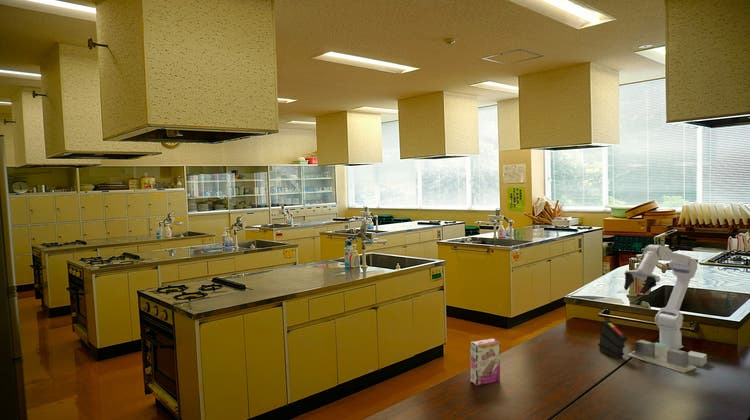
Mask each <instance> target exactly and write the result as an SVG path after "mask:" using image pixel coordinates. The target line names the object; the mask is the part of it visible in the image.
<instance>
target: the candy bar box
mask: <svg viewBox="0 0 750 420" xmlns="http://www.w3.org/2000/svg"><path fill="white" fill-rule="evenodd" d="M469 346H470V354H469V355H470V357H469V359H470V382H471V383H472V384H473V385H475V387H477V386H483V385H487V384H493V383H497V382H500V381H501V342H500V341H499V340H497V339H495V338H488V339H481V340H476V341H470V345H469Z"/></svg>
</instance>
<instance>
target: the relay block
mask: <svg viewBox="0 0 750 420" xmlns="http://www.w3.org/2000/svg"><path fill="white" fill-rule="evenodd" d="M688 352H689V353H688V364H690V365H693V366H696V367H701V368H702V367H704V366H705V365H706V364H707V363H708V362H707V361H708V360H707V359H708V356H707V355H708V354H706V353H702V352H697V351H692V350H690V351H688Z"/></svg>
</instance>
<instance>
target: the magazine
mask: <svg viewBox="0 0 750 420" xmlns="http://www.w3.org/2000/svg"><path fill="white" fill-rule="evenodd" d="M602 325H603V326H602V328H601V331H600V332H599V335H600V337H599V343H597V344H598V345H597V346H598V347H599V352H601V353H602V354H605V355H606V356H607V355H608V356H610V357H613V358H614V359H618V360H619V359H623V356H624V355H625V353H624V351H623V350H624V348H625V347H626V346H625V343H626V341H628V340H629V339H628V336H627V334H626V333H624V332H623V331H622V330H621V329H620V328H619V327H618V326H617V324H615V323H614V322H612V320H605V321H604V322H603V323H602Z"/></svg>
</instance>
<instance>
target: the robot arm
mask: <svg viewBox="0 0 750 420" xmlns="http://www.w3.org/2000/svg"><path fill="white" fill-rule="evenodd" d="M659 260H661V261H669V266H670V269H671V271H672V274H673V275H674V276H675V277H676V280H675V284H674V286H673V288H672V292H671V293H670V296H669V299H668V302H667V304H666V306H665V307H661V308H660V309H659V311H658V312H657V313H656V314H655V317H654V322H655V324H656V326H657V328H659V343H661V344H665V345H667V346H668V350H670V349H673V348H674V349H678V350H681V349H682V348H684V345H682V336H683V335H682V331H681V330H680V329H681V328H682V327H683V321H684V315H683V313H682V312H681V311H680V309H681V306H682V304H683V300H684V298H685V294H686V292H687V289H688V288H689V284H690V281H691V279H693V278H694V277H695V275H696V272H697V269H698V262H697V260H696V259H695V258H692V256H690V255H685V254H682V253H678V252H673V251H672V249H670V248H668V246H665V245H661V244H648V245H646V246H645V249H644V253H643V258H642V259H641V262H640V264H639V266H638V268H637V269H632V270H631V269H625V271H624V277H625V279H624V280H625V281H624V286H623V289H624V290H625V291H628V289H630V286H631V284H633V283H634V282H635V278H638V279H640V280H643V281H645V283H644V285H643V287H642V289H641V293H642V294H643V295H645V294H646V293H648V292H649V291H650V290H651V289H653V288H654V287H656V286H657V283H660V282H661V277H660V276H659V275H655V274H653V272H654V270H655V269H656V266H657V264H658V262H659Z"/></svg>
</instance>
